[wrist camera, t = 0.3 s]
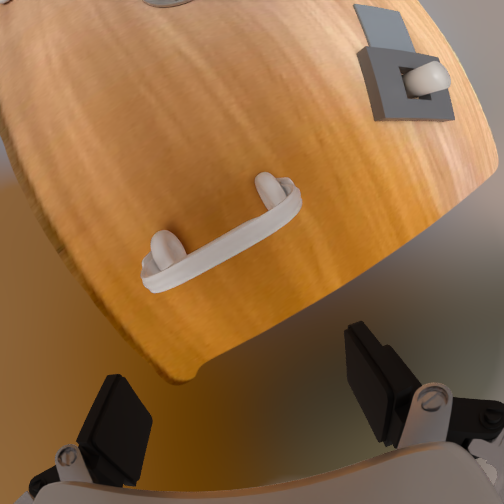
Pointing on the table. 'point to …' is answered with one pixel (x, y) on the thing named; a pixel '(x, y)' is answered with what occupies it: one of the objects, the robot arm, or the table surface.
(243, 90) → the table surface
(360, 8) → the pad
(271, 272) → the table surface
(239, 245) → the headset
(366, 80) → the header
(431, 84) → the plug
